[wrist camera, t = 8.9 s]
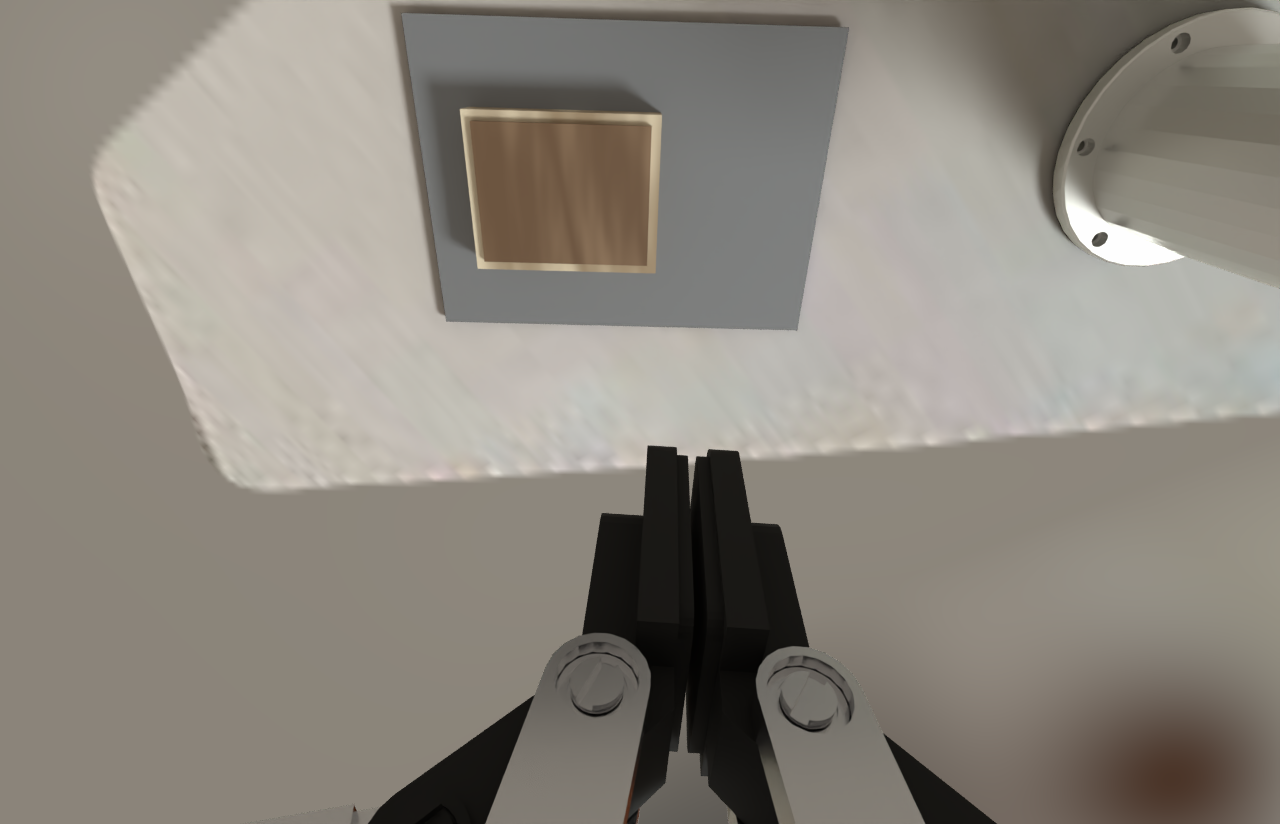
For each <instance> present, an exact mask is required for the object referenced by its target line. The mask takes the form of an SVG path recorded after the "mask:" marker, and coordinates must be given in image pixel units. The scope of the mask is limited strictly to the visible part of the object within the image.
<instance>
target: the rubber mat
mask: <svg viewBox="0 0 1280 824" xmlns="http://www.w3.org/2000/svg"><path fill="white" fill-rule="evenodd" d="M401 15H402V22H403V29H404V36H405V42H406V49H407V56H408V63H409V70H410V77H411V83H412V90H413V97H414V104H415V111H416V118H417V124H418V131H419V138H420V145H421V152H422V159H423V165H424V172H425V179H426V186H427V193H428V200H429V207H430V213H431V220H432V227H433V234H434V241H435V248H436V254H437V261H438V268H439V275H440V282H441V289H442V295H443V302H444V309H445V316H446V321H448V322H488V323H528V324H568V325H608V326H648V327H688V328H728V329H768V330H797V328H798V322H799V316H800V310H801V304H802V299H803V293H804V287H805V281H806V275H807V269H808V264H809V258H810V252H811V246H812V240H813V235H814V229H815V223H816V217H817V211H818V206H819V200H820V194H821V188H822V182H823V177H824V171H825V165H826V159H827V153H828V147H829V142H830V136H831V130H832V124H833V118H834V113H835V107H836V101H837V95H838V89H839V84H840V78H841V72H842V66H843V60H844V54H845V49H846V43H847V37H848V31H849V27H819V26H788V25H758V24H727V23H696V22H666V21H635V20H604V19H574V18H543V17H513V16H482V15H451V14H421V13H401ZM466 107H494V108H527V109H560V110H593V111H626V112H659V113H661V114H662V128H661V152H660V176H659V201H658V225H657V250H656V273H618V272H580V271H542V270H505V269H478V267H477V258H476V250H475V241H474V232H473V223H472V214H471V205H470V196H469V187H468V178H467V170H466V161H465V152H464V143H463V134H462V125H461V116H460V109H462V108H466Z"/></svg>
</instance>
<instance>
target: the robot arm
mask: <svg viewBox="0 0 1280 824" xmlns="http://www.w3.org/2000/svg"><path fill="white" fill-rule="evenodd" d="M1053 199H1054V205H1055V210H1056V215H1057V217H1058V220H1059V222H1060V224H1061V226H1062V229H1063V231H1064V232H1065V233H1066V235H1067V236H1068V237H1069V238H1070V240H1071V241H1072V242H1073V243H1074V244H1075V245H1076V246H1077V247H1079V248H1080V249H1082V250H1083V251H1085V252H1086V253H1087V254H1089V255H1092V256H1094V257H1097V258H1099V259H1101V260H1103V261H1106V262H1110V263H1114V264H1118V265H1122V266H1142V267H1145V266H1151V265H1158V264H1164V263H1168V262H1171V261H1175V260H1178V259H1181V258H1184V257H1188V258H1190V259H1193V260H1196V261H1199V262H1202V263H1205V264H1208V265H1211V266H1214V267H1217V268H1220V269H1223V270H1226V271H1229V272H1232V273H1234V274H1237V275H1240V276H1243V277H1246V278H1249V279H1252V280H1255V281H1258V282H1261V283H1264V284H1267V285H1270V286H1273V287H1276V288H1279V289H1280V13H1277V12H1275V11H1271V10H1265V9H1258V8H1252V7H1250V8H1235V9H1223V10H1217V11H1212V12H1207V13H1201V14H1197V15H1195V16H1192V17H1189V18H1187V19H1184V20H1181V21H1179V22H1176V23H1173V24H1171V25H1169V26H1168V27H1166V28H1164V29H1162V30H1161V31H1159V32H1157V33H1155V34H1154V35H1152V36H1150V37H1148V38H1147V39H1145V40H1144V41H1142V42H1141V43H1140V44H1139V45H1137V46H1136V47H1135V48H1133V49H1132V50H1131V51H1130V52H1128V53H1127V54H1126V55H1124V56H1123V57H1122V58H1121V59H1120V60H1119V61H1118V62H1117V63H1116V64H1115V65H1114V66H1113V67H1112V68H1111V69H1110V70H1109V71H1108V72H1107V73H1106V74H1105V75H1104V76H1103V77H1102V78H1101V79H1100V80H1099V81H1098V83H1097V84H1096V85H1095V87H1094V88H1093V89H1092V90H1091V92H1090V93H1089V94H1088V96H1087V97H1086V98H1085V100H1084V101H1083V102H1082V104H1081V106H1080V107H1079V109H1078V111H1077V113H1076V114H1075V116H1074V118H1073V120H1072V121H1071V123H1070V125H1069V127H1068V129H1067V131H1066V134H1065V136H1064V139H1063V142H1062V144H1061V147H1060V149H1059V152H1058V157H1057V161H1056V166H1055V170H1054V178H1053ZM685 693H686V715H687V749H688V753H700V768H701V776H708V784H709V787H710V788H711V789H712V790H713V791H714V792H715V793H716V794H717V795H718V797H720V799H721V800H722V801H723V802H724V803H725V804H726V805H727V814H728V824H996V823H995V822H994V821H992V820H991V819H990V818H989V817H988V816H986V815H985V814H984V813H983V812H981V811H980V810H979V809H978V808H976V807H975V806H974V805H972V804H971V803H970V802H969V801H968V800H966V799H965V798H964V797H962V796H961V795H960V794H959V793H958V792H956V791H955V790H954V789H953V788H951V787H950V786H949V785H947V784H946V783H945V782H943V781H942V780H941V779H940V778H939V777H937V776H936V775H935V774H934V773H932V772H931V771H930V770H929V769H927V768H926V767H925V766H924V765H922V764H921V763H920V762H919V761H917V760H916V759H915V758H914V757H912V756H911V755H910V754H909V753H907V752H906V751H905V750H904V749H902V748H901V747H900V746H899V745H897V744H896V743H895V742H893V741H892V740H891V739H890V738H888V737H887V736H886V735H885V734H883V733H882V731H881V728H880V726H879V724H878V722H877V720H876V718H875V715H874V713H873V711H872V709H871V707H870V705H869V702H868V700H867V698H866V696H865V694H864V692H863V690H862V688H861V686H860V685H859V683H858V682H857V680H856V678H855V677H854V676H853V674H852V673H851V672H850V671H849V670H848V669H847V668H846V667H845V666H844V665H843V664H842V663H841V662H839V661H838V660H836V659H834V658H833V657H831V656H829V655H828V654H826V653H824V652H821V651H818V650H815V649H812V648H809V644H808V640H807V636H806V632H805V627H804V624H803V619H802V615H801V610H800V607H799V602H798V598H797V594H796V589H795V586H794V581H793V577H792V572H791V568H790V564H789V560H788V556H787V552H786V547H785V543H784V539H783V535H782V531H781V528H780V527H779V525H777V524H763V523H751V519H750V514H749V508H748V502H747V496H746V490H745V485H744V479H743V473H742V467H741V462H740V456H739V452H738V451H728V450H712V449H709V450H708V452H707V457H700V456H697V457H696V462H695V471H694V480H693V488H692V497H691V506H690V496H689V473H688V456H684V455H677V448H676V447H664V446H648V449H647V466H646V482H645V498H644V514H643V516H639V515H624V514H609V513H602V515H601V519H600V525H599V532H598V538H597V544H596V551H595V557H594V563H593V569H592V576H591V582H590V589H589V595H588V602H587V608H586V614H585V621H584V627H583V634H582V635H581V636H578V637H576V638H574V639H572V640H570V641H568V642H566V643H564V644H563V645H562V646H561V647H560V648H559V649H558V650H557V651H556V652H555V653H554V654H553V655H552V657H551V658H550V660H549V662H548V664H547V665H546V667H545V670H544V672H543V675H542V678H541V680H540V683H539V685H538V688H537V691H536V693H535V695H534V696H532V697H531V698H529V699H528V700H527V701H525V702H524V703H522V704H521V705H520V706H518V707H517V708H515V709H514V710H513V711H511V712H510V713H508V714H507V715H506V716H504V717H503V718H502V719H500V720H499V721H497V722H496V723H495V724H493V725H491V726H490V727H489V728H487V729H486V730H484V731H483V732H482V733H480V734H479V735H477V736H476V737H475V738H473V739H472V740H470V741H469V742H468V743H466V744H465V745H463V746H462V747H461V748H459V749H458V750H457V751H455V752H453V753H452V754H451V755H449V756H448V757H447V758H445V759H444V760H442V761H441V762H439V763H438V764H437V765H435V766H434V767H432V768H431V769H430V770H428V771H427V772H425V773H424V774H423V775H421V776H420V777H418V778H417V779H416V780H414V781H413V782H411V783H410V784H408V785H407V786H406V787H404V788H403V789H401V790H400V791H399V792H397V793H396V794H395V795H394V796H392V797H391V798H390V799H389V800H388V801H387V802H386V803H385V804H383V805H382V806H381V807H377V808H372V809H366V810H361V811H357V810H356V807H355V805H354V804H352V805H346V806H341V807H335V808H330V809H324V810H318V811H312V812H307V813H301V814H296V815H290V816H284V817H278V818H273V819H268V820H262V821H256V822H250V823H245V824H638V819H639V814H640V807H641V806H642V805H643V804H644V803H645V802H646V801H647V800H648V799H649V798H650V797H651V796H652V795H653V794H654V793H655V792H656V791H657V790H658V789H659V788H661V787H662V786H663V784H665V781H666V772H667V765H668V756H669V751H674V752H677V751H678V744H679V736H680V730H681V722H682V715H683V707H684V700H685Z"/></svg>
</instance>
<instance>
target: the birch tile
mask: <svg viewBox="0 0 1280 824" xmlns="http://www.w3.org/2000/svg"><path fill="white" fill-rule="evenodd" d="M460 116H461V125H462V134H463V143H464V152H465V161H466V170H467V178H468V187H469V196H470V205H471V214H472V223H473V232H474V241H475V250H476V258H477V267H478V269H505V270H542V271H580V272H618V273H656V250H657V225H658V201H659V176H660V152H661V128H662V114H661V113H659V112H626V111H593V110H560V109H527V108H494V107H466V108H462V109H460Z"/></svg>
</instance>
